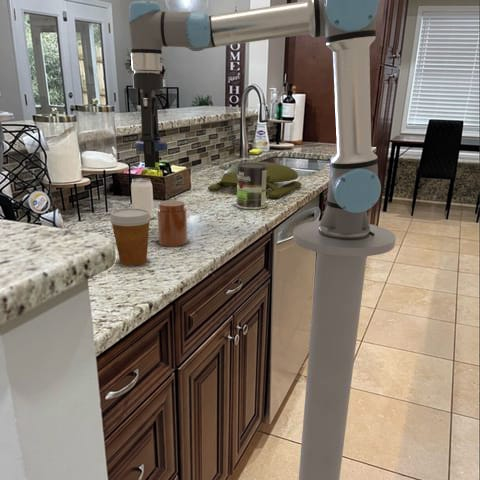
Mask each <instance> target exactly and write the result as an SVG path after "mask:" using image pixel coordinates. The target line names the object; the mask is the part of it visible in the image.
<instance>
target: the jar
mask: <svg viewBox="0 0 480 480" xmlns="http://www.w3.org/2000/svg"><path fill="white" fill-rule="evenodd" d="M157 229H158V244H159V245H161V246H164V247H180V246H185V245H187V244H188V216H187V207H185V202H184V201H181V200H164V201H160V202H158V208H157Z"/></svg>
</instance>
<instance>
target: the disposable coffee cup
mask: <svg viewBox="0 0 480 480" xmlns="http://www.w3.org/2000/svg"><path fill="white" fill-rule="evenodd" d="M108 219H109V221H110V223H111V226H112V231H113V235H114V240H115V244H116V248H117V249H116V250H117V254H118V258H119V263H120V264H121V265H124V266H128V267H129V266H131V267H132V266H133V267H134V266H141V265H143V264H146V263H147V261H148V246H149V233H150V222H151V220H152V219H151V216H150V215H149V212H148V211H147V210H145V209H140V208H133V207H127V208H125V207H124V208H119V209H115V210H112V211H111V212H110V216H109V218H108Z"/></svg>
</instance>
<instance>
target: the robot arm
mask: <svg viewBox="0 0 480 480" xmlns="http://www.w3.org/2000/svg"><path fill="white" fill-rule="evenodd" d="M379 3H380V0H303V1H296V2H289V3H284V4H278V5H270V6H265V7H264V6H263V7H258V8H251V9H245V10H244V9H243V10H238V11H237V10H236V11H231V12H225V13H219V14H211V15H208V13H206V12H203V11H202V12H200V11H195V10H194V11H162V9H161V5H160V3H158V2H156V1H151V0H149V1H148V0H135V1H132V2H130V4H129V5H128V7H129V8H128V13H129V15H128V17H129V19H128V20H129V21H128V27H129V36H130V38H129V39H130V47H131V48H130V49H131V53H130V57H131V70H132V71H133V72H134V73H133V74H132V87H133V89H134V90H142V96H141V97H140V98H139V102H140V118H141V120H140V121H141V122H140V123H141V137H139V141H141V142H143V146H144V151H143V159H144V160H143V162H144V163H143V164H144V168H147V169H148V168H154V169H155V168H156V164H158V163H160V151H155V148H154V141H159V138H162V134H161V133H160V128H159V127H160V126H159V113H158V109H159V108H158V101H159V100H158V96H156V93H155V92H156V91H161V90H163V89H164V75H163V74H162V73H161V72H162V71H163V63H165V61H166V60H165V58H163V56H162V55H163V51H162V50H163V47H167V48H168V47H172V48H173V47H175V48H186V49H188V50H190V51H192V52H200V51H203V50H206V49H213V48H217V47H219V48H220V47H226V46H232V45H239V44H247V43H253V42H254V43H255V42H260V41H268V40H269V41H270V40H275V39H283V38H289V37H296V36H303V35H309V36H311V37H312V38H320V37H321V38H322V37H325V46H326V47H327V48H328V49H329V50H331V52H332V64H333V82H334V83H333V86H334V87H333V88H334V109H335V128H336V129H335V130H336V154H335V155H332V157H331V158H330V164H329V174H328V175H329V177H328V188H327V197H326V198H327V200H326V208H325V210H324V213H323V215H322V216H321V217H322V218H321V220H320V221H321V222H320V225H319V233H320V234H321V235H323V236H325V237H329V238H333V239H340V240H359V239H364V238H367V237H369V235H372V236H374V235H375V234H374V233H372V232H371V231H370V225H369V224H370V220H369V216H368V212H367V211H368V210H370V209H371V208H372V207H374V206H375V205H376V203H377V202H378V201H379V199H380V196H381V192H382V184H381V180H380V178H379V169H378V167H379V165H378V155H377V154H376V153H374V151H373V150H372V119H371V116H372V115H371V111H372V110H371V66H370V65H371V63H370V62H371V59H370V57H371V56H370V47H371V45H372V44H373V43H374V41H375V40H376V38H377V34H376V33H377V29H376V28H377V27H376V26H377V23H376V22H377V20H376V19H377V18H376V16H377V12H378V9H379V6H380V5H379ZM153 140H154V141H153Z"/></svg>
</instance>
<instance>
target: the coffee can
mask: <svg viewBox="0 0 480 480" xmlns="http://www.w3.org/2000/svg"><path fill="white" fill-rule="evenodd" d="M236 165H237V168H238V171H237V187H236V207H237V208H239V209H243V210H262V209H264V208H266V196H267V189H266V176H267V165H264V164H258V163H248V162H243V163H239V164H236Z"/></svg>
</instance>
